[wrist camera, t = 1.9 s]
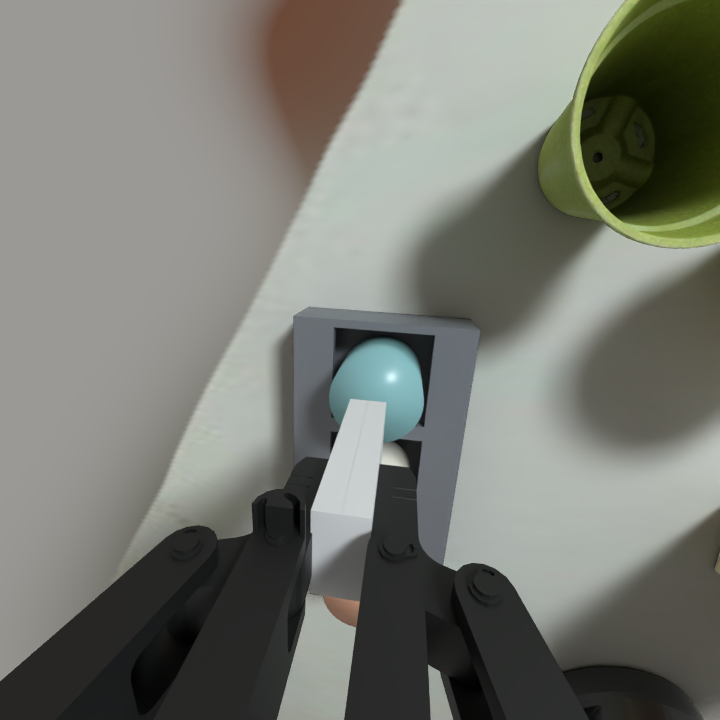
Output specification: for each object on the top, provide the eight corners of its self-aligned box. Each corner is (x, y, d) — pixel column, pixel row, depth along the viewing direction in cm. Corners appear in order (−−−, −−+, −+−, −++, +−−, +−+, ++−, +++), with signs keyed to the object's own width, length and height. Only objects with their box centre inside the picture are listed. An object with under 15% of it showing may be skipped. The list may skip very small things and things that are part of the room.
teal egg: (416, 412, 23) (418, 448, 19) (341, 404, 24) (327, 437, 20) (424, 339, 22) (429, 360, 18) (344, 332, 22) (330, 351, 18)
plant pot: (709, 193, 20) (919, 155, 12) (542, 276, 22) (622, 292, 14) (656, 19, 18) (863, -170, 10) (480, 129, 20) (530, 50, 12)
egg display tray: (433, 564, 30) (436, 603, 27) (306, 546, 31) (294, 581, 28) (470, 319, 24) (480, 330, 20) (308, 306, 25) (293, 316, 21)
